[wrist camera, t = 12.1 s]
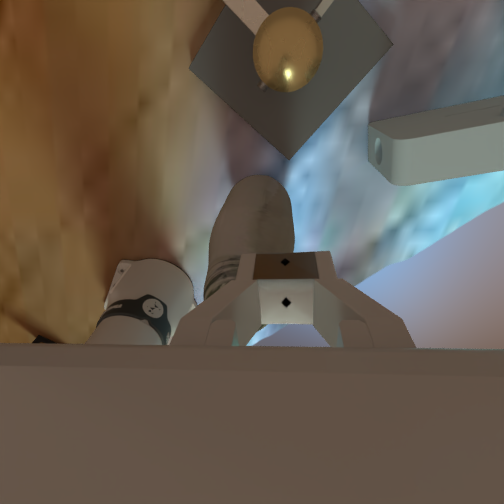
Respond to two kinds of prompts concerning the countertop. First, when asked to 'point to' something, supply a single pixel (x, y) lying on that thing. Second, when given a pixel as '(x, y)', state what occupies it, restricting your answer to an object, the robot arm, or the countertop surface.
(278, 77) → the gold knob with bar
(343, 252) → the countertop surface
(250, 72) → the plate
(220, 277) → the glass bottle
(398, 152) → the bar with end hole
